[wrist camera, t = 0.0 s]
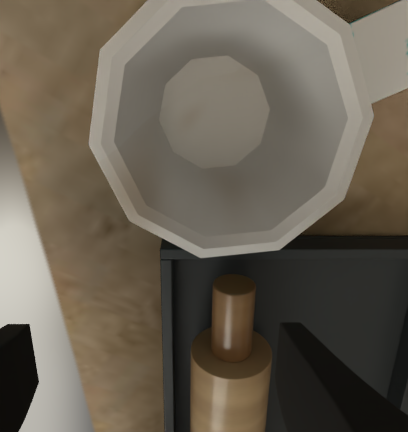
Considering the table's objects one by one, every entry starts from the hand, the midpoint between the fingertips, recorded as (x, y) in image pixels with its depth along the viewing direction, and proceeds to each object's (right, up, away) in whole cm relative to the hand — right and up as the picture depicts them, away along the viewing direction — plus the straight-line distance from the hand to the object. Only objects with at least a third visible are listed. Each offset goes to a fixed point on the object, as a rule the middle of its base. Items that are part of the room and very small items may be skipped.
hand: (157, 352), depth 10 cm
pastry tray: (+6, -7, +13) cm, 16 cm away
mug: (+4, +10, +8) cm, 13 cm away
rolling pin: (+3, -8, +11) cm, 14 cm away
